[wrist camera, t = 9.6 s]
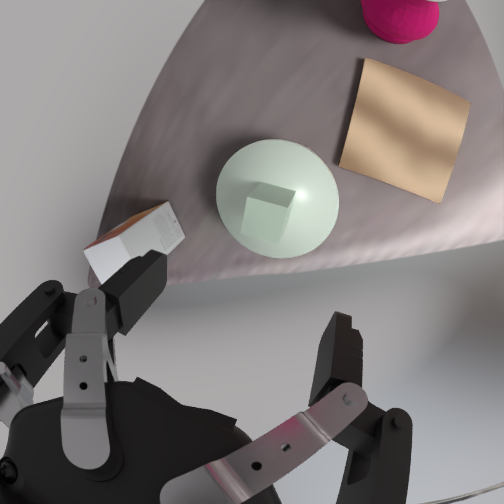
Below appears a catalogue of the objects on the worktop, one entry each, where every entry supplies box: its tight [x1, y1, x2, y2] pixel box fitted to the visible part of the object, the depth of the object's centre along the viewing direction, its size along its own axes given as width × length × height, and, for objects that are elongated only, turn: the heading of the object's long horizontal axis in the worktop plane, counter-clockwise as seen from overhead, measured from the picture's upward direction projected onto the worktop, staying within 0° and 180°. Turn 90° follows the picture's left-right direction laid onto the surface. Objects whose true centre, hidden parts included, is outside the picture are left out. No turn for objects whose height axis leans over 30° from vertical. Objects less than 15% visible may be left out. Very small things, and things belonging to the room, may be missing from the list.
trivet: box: [339, 58, 471, 204], centre depth 24 cm, size 12×12×1 cm
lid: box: [216, 139, 339, 258], centre depth 24 cm, size 12×12×5 cm
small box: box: [83, 201, 185, 284], centre depth 34 cm, size 8×6×10 cm
